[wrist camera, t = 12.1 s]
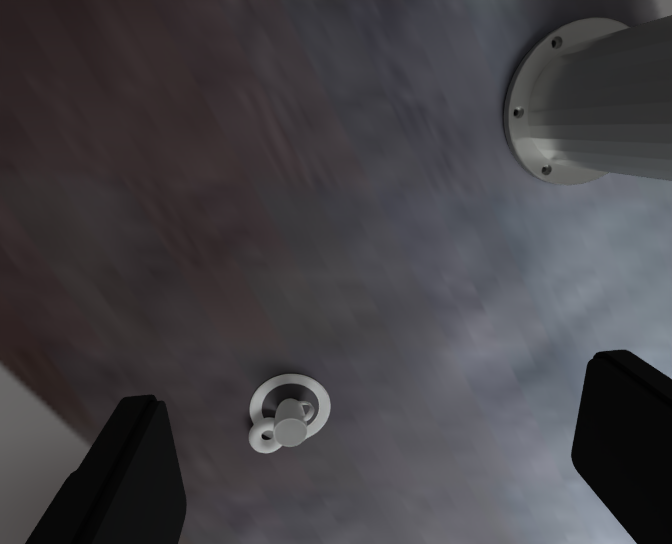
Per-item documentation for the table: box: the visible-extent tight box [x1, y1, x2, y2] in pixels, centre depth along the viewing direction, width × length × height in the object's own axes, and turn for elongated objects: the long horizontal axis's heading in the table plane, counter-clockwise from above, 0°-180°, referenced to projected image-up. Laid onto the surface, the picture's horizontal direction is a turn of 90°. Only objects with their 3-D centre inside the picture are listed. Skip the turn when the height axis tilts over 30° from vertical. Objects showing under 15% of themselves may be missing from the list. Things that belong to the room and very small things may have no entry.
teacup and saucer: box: [249, 374, 331, 453], centre depth 40 cm, size 9×8×4 cm
